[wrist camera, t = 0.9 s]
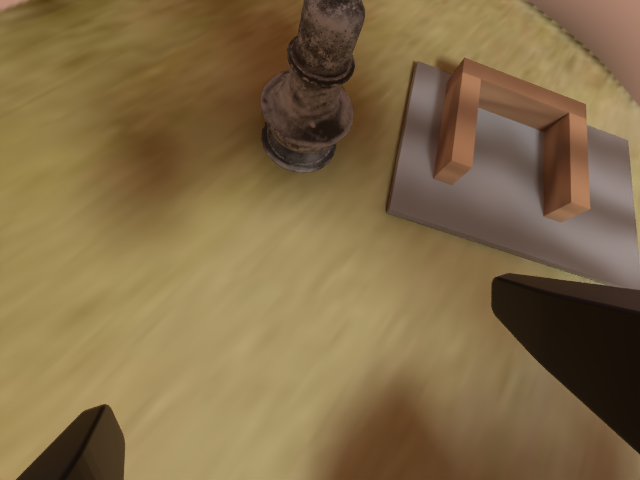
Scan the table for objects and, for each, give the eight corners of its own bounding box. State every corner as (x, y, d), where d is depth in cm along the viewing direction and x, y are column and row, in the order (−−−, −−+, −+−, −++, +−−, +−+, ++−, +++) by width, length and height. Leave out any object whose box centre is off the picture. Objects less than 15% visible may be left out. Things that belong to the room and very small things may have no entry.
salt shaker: (279, 92, 27) (308, -99, 16) (351, 128, 28) (428, -37, 17) (242, 152, 25) (247, -23, 14) (321, 190, 25) (387, 48, 14)
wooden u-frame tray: (634, 293, 28) (679, 284, 25) (386, 212, 26) (404, 192, 23) (621, 144, 33) (657, 122, 30) (414, 66, 31) (432, 35, 28)
